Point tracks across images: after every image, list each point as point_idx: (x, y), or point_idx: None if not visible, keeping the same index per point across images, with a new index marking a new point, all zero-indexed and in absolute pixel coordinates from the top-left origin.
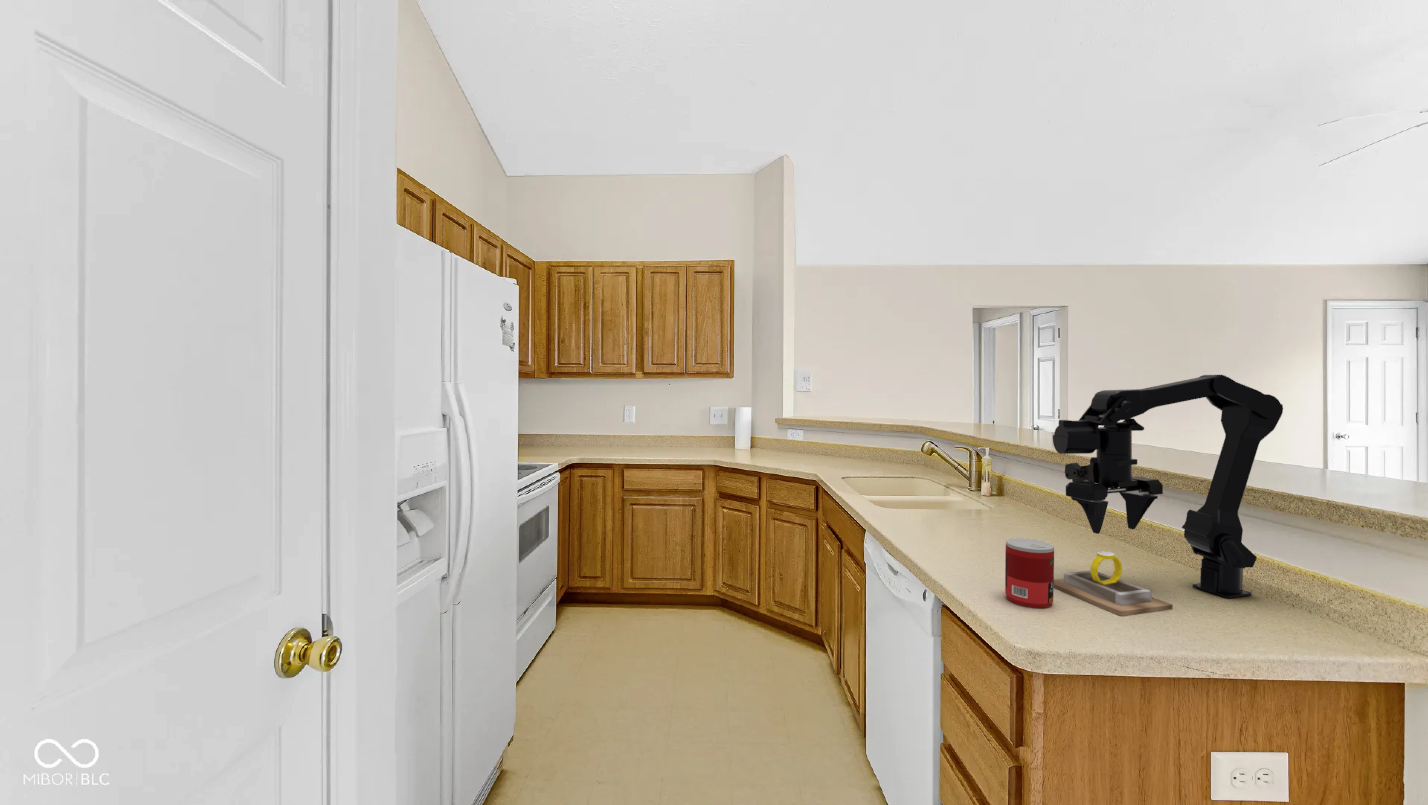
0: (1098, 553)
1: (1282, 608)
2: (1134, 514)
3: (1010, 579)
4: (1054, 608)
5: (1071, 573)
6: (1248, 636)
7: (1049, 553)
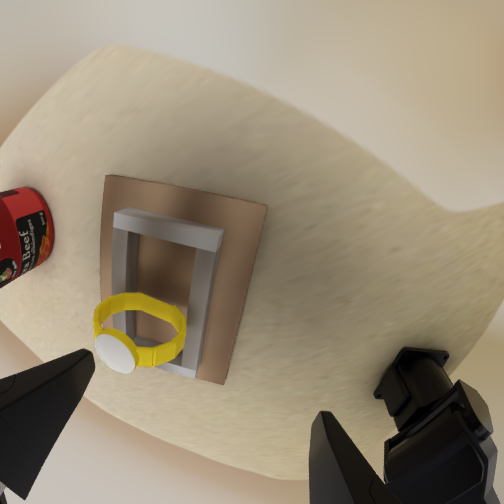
0: (97, 339)
1: (382, 425)
2: (320, 491)
3: None
4: (43, 267)
5: (130, 223)
6: (215, 438)
7: None
